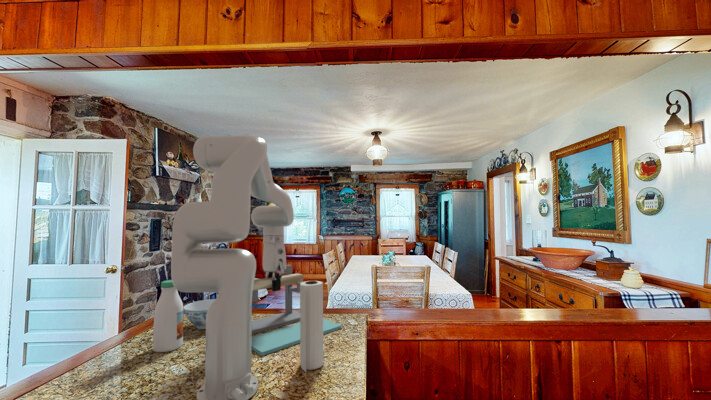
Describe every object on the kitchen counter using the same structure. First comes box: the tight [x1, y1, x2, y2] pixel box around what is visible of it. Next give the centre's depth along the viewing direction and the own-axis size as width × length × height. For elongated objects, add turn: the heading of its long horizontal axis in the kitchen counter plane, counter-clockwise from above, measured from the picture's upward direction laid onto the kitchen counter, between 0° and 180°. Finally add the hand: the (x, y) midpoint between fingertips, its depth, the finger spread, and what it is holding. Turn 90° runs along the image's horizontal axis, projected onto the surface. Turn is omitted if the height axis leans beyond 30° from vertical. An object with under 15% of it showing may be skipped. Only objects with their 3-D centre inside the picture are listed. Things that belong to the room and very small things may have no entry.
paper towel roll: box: [299, 280, 324, 373], centre depth 80 cm, size 7×6×21 cm
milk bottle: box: [152, 279, 184, 353], centre depth 93 cm, size 8×8×20 cm
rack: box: [252, 264, 302, 336], centre depth 113 cm, size 10×24×20 cm, turn 135°
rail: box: [253, 273, 304, 291], centre depth 112 cm, size 4×24×3 cm, turn 135°
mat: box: [251, 318, 342, 357], centre depth 100 cm, size 13×30×1 cm, turn 135°
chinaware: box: [183, 298, 216, 330], centre depth 111 cm, size 15×15×8 cm
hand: (273, 289), depth 112 cm, fingers closed on rail, 3 cm apart
